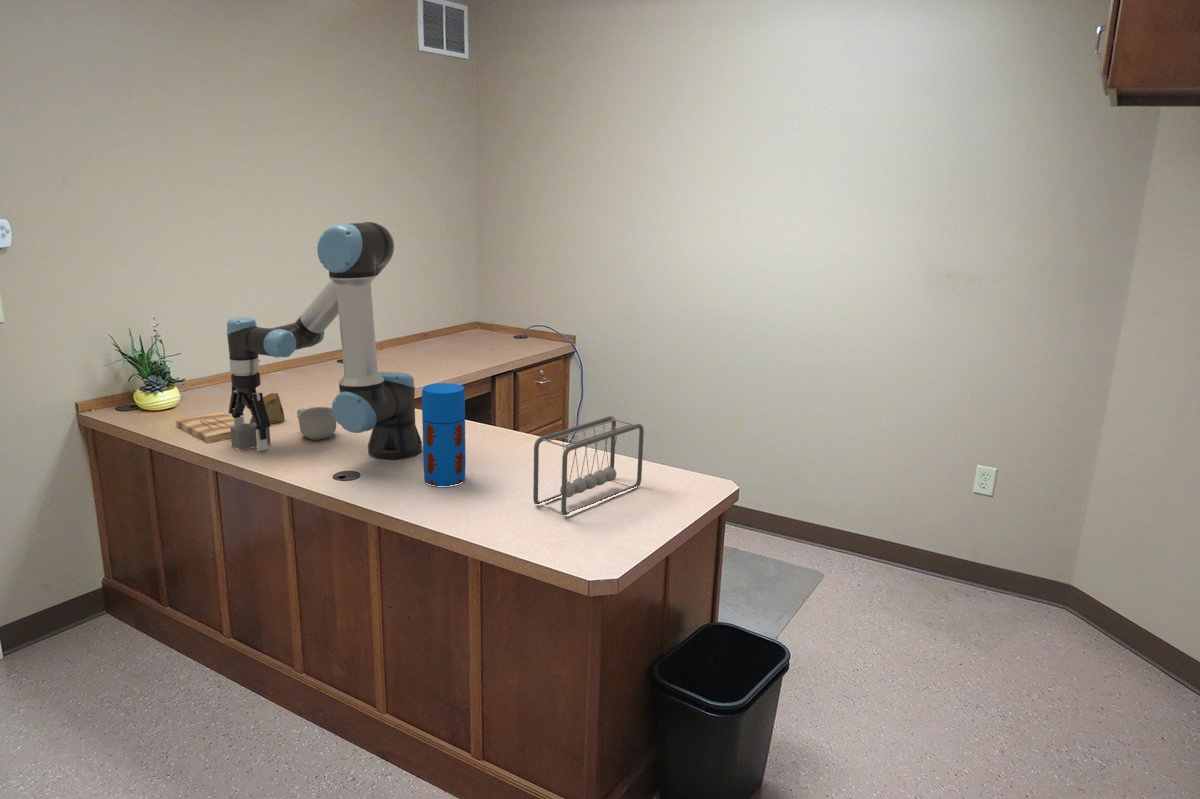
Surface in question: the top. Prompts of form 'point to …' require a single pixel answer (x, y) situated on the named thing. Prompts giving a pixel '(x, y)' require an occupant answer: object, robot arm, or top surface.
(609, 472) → the newton's cradle
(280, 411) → the rock
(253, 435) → the block
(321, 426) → the teacup
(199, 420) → the board
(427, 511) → the top surface
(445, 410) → the thermos
